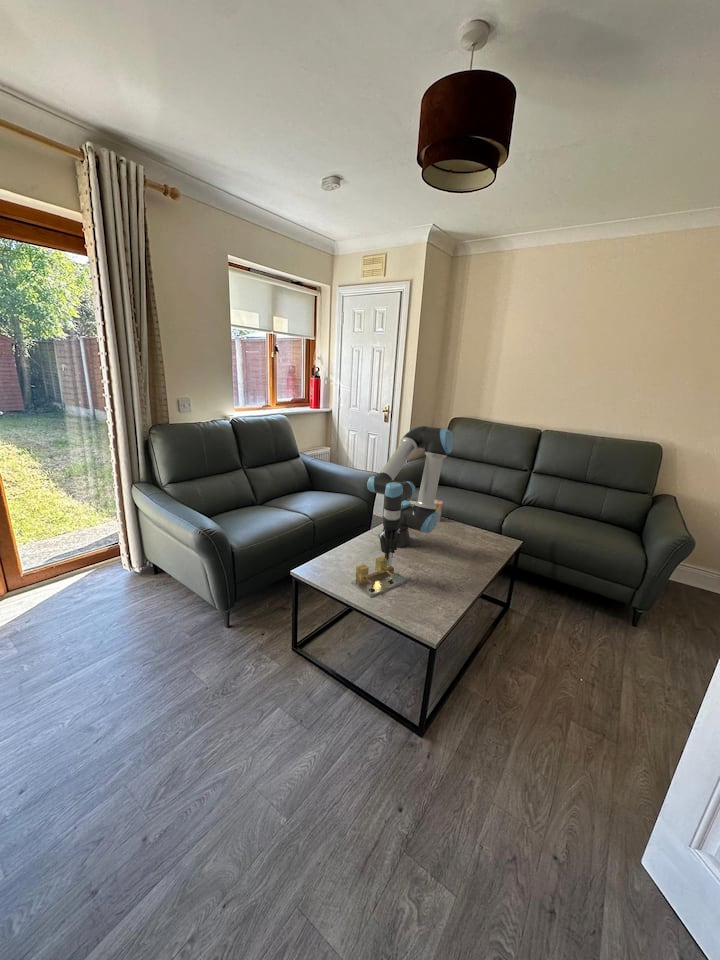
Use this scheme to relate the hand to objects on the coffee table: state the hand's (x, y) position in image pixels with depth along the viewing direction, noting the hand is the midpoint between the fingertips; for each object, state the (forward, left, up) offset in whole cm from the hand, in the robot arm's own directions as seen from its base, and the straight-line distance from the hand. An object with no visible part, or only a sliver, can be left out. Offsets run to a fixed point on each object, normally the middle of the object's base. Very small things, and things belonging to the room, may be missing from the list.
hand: (387, 564), depth 179 cm
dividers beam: (+3, -7, -4) cm, 9 cm away
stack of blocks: (-39, +67, -5) cm, 78 cm away
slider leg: (+3, -4, -4) cm, 6 cm away
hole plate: (+3, -8, -5) cm, 10 cm away
